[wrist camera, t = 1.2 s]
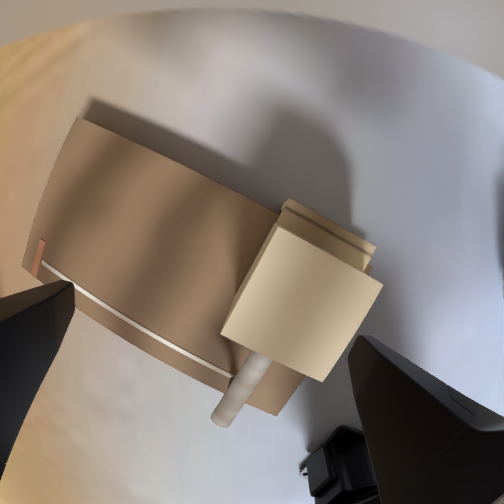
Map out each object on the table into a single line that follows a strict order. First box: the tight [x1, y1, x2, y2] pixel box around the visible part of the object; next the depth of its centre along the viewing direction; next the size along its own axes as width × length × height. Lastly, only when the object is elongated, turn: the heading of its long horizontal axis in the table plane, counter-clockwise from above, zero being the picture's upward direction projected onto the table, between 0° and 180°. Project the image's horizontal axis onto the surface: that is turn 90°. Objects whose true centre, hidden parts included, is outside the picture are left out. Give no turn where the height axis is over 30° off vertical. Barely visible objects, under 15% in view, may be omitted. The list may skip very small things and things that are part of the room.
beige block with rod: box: [211, 198, 383, 427], centre depth 17 cm, size 5×12×8 cm, turn 152°
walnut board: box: [22, 117, 372, 416], centre depth 20 cm, size 22×12×2 cm, turn 62°
